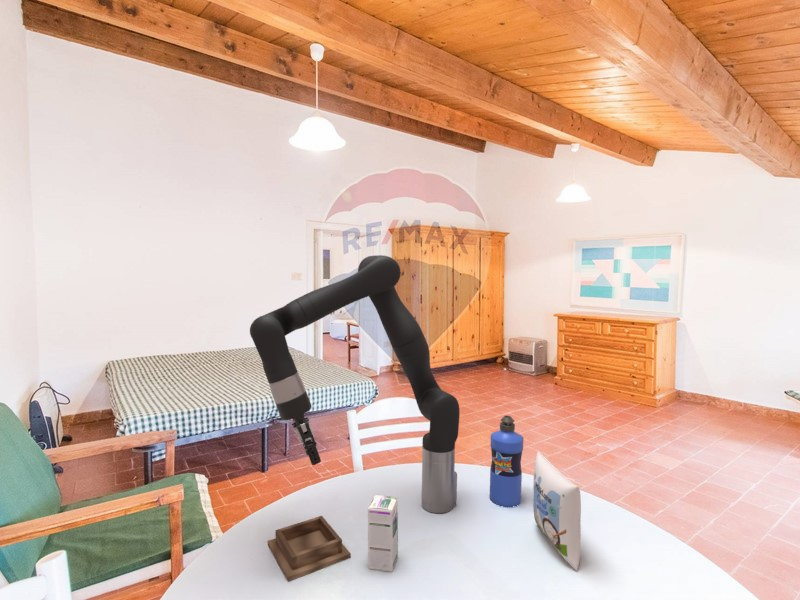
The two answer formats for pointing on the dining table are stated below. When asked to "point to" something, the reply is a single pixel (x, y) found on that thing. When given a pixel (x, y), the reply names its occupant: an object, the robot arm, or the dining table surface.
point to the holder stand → (307, 547)
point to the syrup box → (382, 533)
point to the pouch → (557, 509)
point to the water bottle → (506, 465)
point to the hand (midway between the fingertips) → (313, 458)
